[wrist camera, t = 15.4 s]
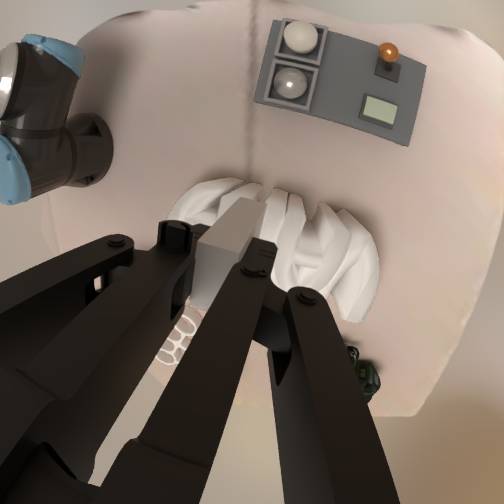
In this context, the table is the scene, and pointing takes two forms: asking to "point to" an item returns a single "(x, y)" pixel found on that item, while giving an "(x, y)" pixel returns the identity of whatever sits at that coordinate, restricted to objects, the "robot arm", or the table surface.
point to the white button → (300, 37)
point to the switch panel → (344, 82)
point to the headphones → (364, 374)
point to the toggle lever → (388, 55)
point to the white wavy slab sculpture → (299, 242)
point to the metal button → (290, 83)
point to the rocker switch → (380, 110)
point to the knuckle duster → (179, 338)
